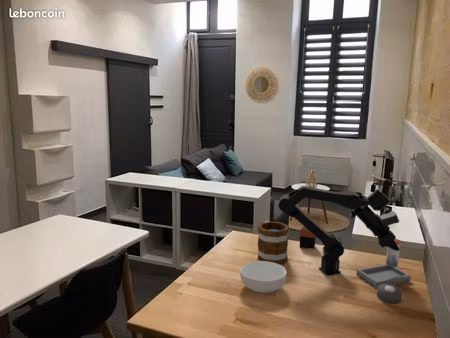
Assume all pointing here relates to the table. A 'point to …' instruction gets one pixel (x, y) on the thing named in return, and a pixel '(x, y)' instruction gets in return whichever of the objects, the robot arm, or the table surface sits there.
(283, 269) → the cereal bowl
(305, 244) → the battery
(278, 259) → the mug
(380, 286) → the trolley wheel
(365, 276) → the tray
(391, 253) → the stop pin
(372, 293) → the table surface
